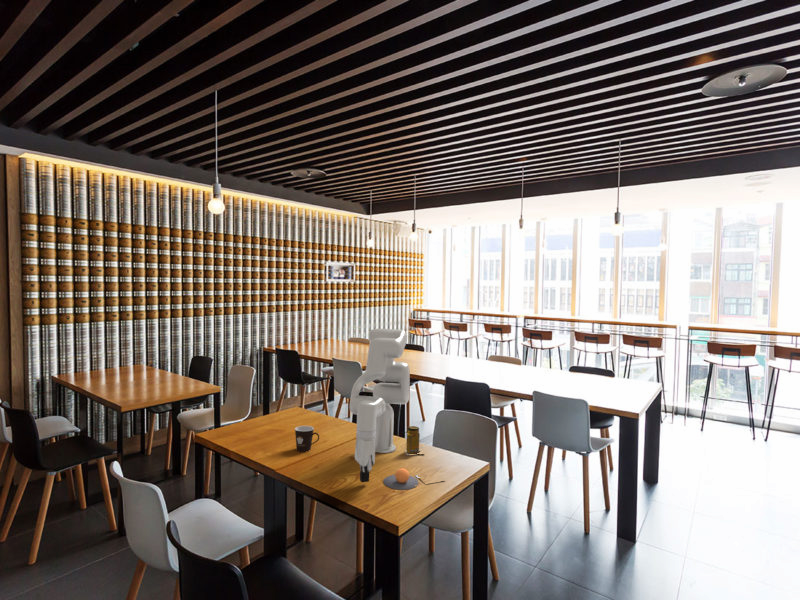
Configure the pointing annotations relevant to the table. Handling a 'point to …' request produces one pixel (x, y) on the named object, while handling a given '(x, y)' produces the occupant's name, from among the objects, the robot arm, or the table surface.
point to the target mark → (394, 484)
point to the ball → (402, 475)
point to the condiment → (412, 440)
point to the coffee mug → (304, 438)
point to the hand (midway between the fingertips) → (364, 481)
